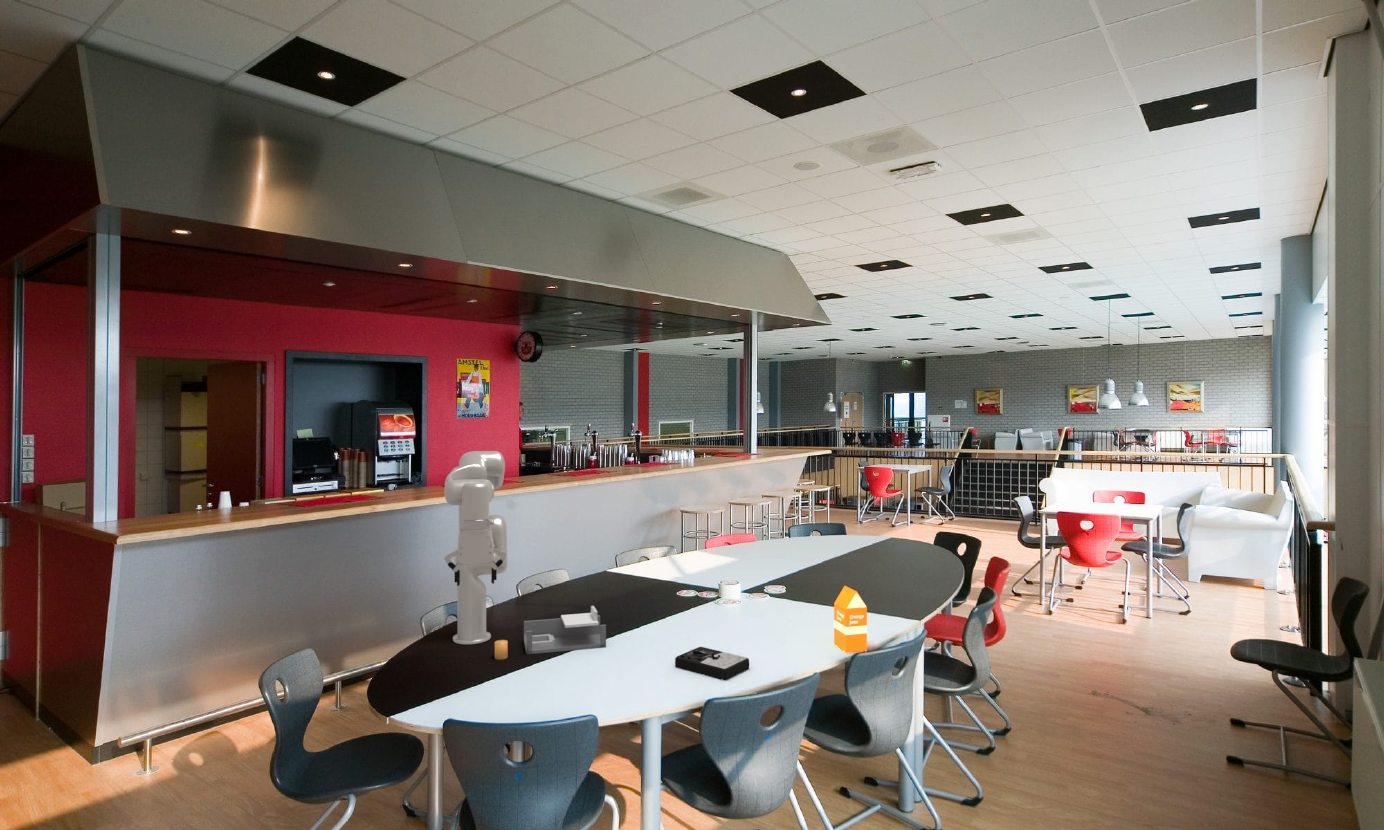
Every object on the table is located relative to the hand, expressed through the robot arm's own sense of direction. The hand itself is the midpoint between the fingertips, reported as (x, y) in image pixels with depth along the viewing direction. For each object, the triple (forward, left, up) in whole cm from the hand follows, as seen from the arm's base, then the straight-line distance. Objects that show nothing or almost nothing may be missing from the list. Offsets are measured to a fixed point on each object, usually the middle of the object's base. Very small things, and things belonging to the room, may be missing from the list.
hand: (475, 583), depth 217 cm
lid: (-27, +34, -21) cm, 48 cm away
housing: (-27, +29, -29) cm, 49 cm away
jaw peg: (-20, +8, -29) cm, 36 cm away
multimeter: (+8, +70, -30) cm, 76 cm away
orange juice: (+3, +120, -29) cm, 123 cm away
